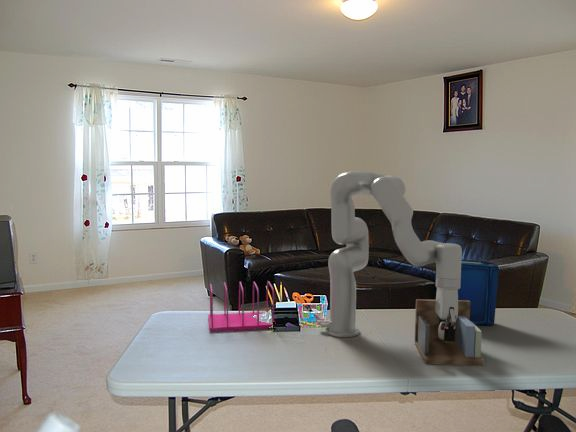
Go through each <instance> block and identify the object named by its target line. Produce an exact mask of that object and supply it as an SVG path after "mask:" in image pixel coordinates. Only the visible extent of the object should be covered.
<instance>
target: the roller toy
mask: <svg viewBox="0 0 576 432" xmlns="http://www.w3.org/2000/svg"><path fill="white" fill-rule="evenodd" d="M448 323H449V322H448ZM444 328H445V322H444V321H442V322H441V323H440V325H439V329H438V336H439V338H440V339H441V340H444ZM445 342H448V341H445Z"/></svg>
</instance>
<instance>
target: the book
mask: <svg viewBox="0 0 576 432" xmlns="http://www.w3.org/2000/svg"><path fill="white" fill-rule="evenodd" d="M499 271H500V266H499V265H498V264H496V263H494V262H484V261H481V260H479V261H478V260H471V259H470V260H469V259H461V286H460V289H458V300H469V301H470V320H469V321H472V322H473V323H474V324H475V325H476V326H477V327H478V326H483V325H485V326H493V325H495V321H496V308H497V293H498V286H499V285H498V282H499V281H498V280H499Z"/></svg>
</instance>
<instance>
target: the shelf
mask: <svg viewBox="0 0 576 432" xmlns="http://www.w3.org/2000/svg"><path fill="white" fill-rule="evenodd" d="M435 306H436V299H428V298H427V299H424V298H423V299H419V298H416V299H415V315H414V319H415V321H414V343H415V344H414V346H415V345H416V346H415V347H417V348H416V349H418V350H417V352H418V353H419V355H420V357H421V359H422V361H423V360H424V361H423V362H424V364H425V365H451V366H452V365H454V366H456V365H457V366H483V367H484V365H485V361H484V359H483V358H482V357H465V356H464V354H463V353H462V352H461V350H460V349H459V348H458V347H457V345H456V330H457V319H456V323H455V341H448V342H445V341H444V340H441V339H440V338H439V336H438V327H439V316H438V315H437V314H436V312H435ZM419 315H423V317H424V318H425V320H426V321H427V322H428V324H429V325H430V328H429V355H428V356H425V355H424V354H423V352H422V350H421V348H420V347H419V345H418V322H419ZM458 316H465V317H466V318H467V319H468V320H470V301H469V300H458ZM448 319H450V317H449V318H448ZM449 322H450V321H449Z"/></svg>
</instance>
